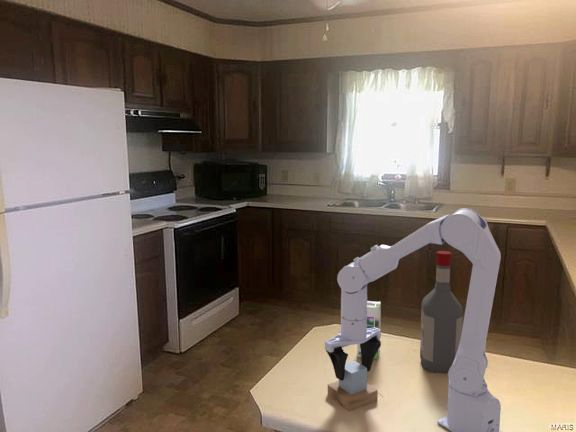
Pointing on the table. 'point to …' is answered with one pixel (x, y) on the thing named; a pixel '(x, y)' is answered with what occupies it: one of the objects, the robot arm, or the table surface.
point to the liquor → (440, 321)
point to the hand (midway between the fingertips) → (353, 374)
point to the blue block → (354, 378)
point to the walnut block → (352, 396)
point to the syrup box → (372, 321)
